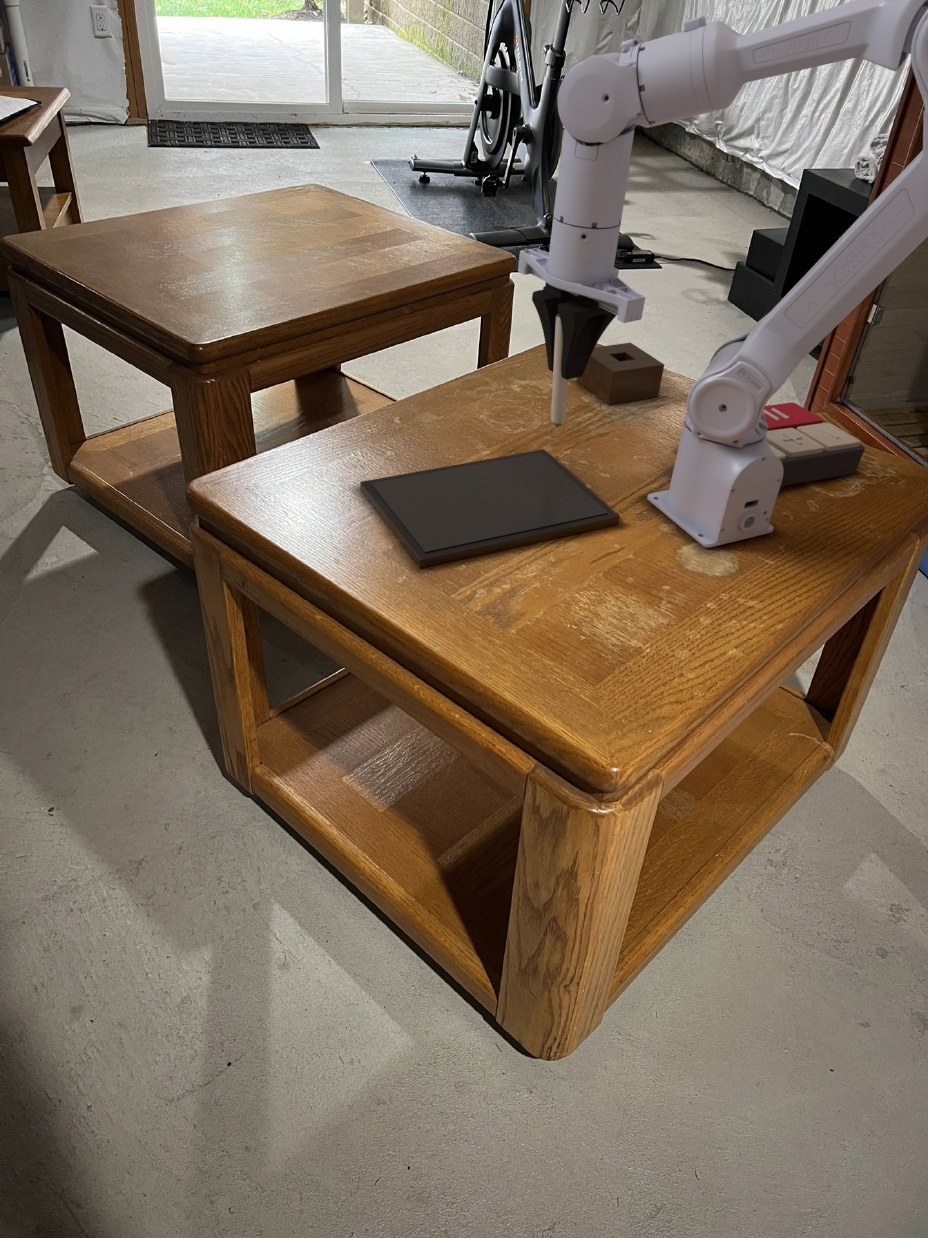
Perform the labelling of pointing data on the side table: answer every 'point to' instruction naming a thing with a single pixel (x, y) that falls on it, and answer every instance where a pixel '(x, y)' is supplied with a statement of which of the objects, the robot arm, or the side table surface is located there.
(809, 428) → the grey box with panels
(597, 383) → the pen stand
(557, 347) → the stylus
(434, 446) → the side table surface
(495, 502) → the tablet
